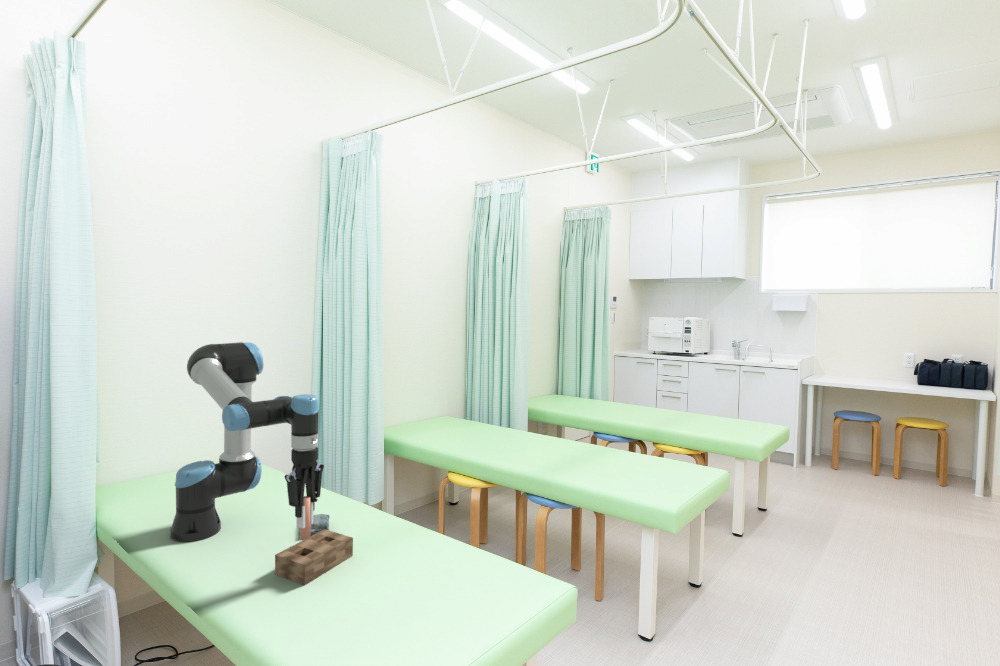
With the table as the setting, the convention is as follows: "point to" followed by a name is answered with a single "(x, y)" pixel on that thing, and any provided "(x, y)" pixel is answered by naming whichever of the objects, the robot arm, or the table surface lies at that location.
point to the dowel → (306, 520)
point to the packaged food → (320, 523)
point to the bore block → (313, 556)
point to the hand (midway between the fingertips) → (304, 524)
